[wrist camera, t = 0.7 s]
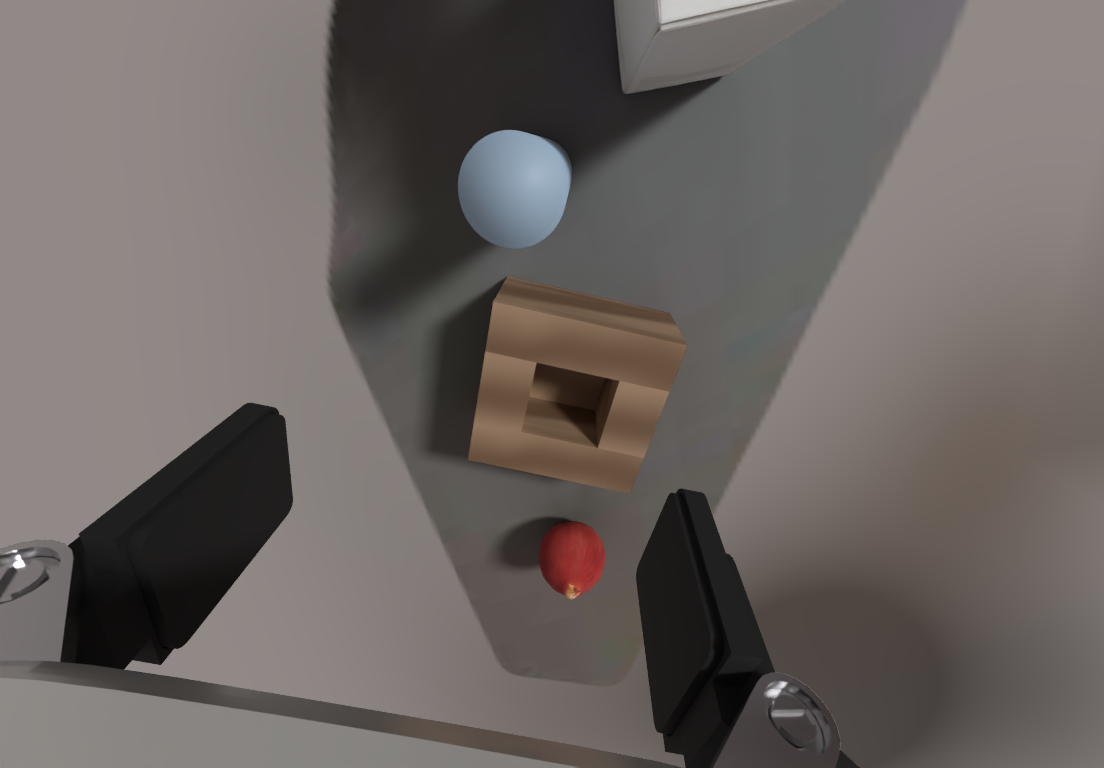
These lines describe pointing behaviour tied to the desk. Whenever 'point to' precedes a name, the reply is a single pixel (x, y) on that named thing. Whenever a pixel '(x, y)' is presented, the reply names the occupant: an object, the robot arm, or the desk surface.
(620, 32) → the skincare box
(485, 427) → the bore block
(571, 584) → the onion
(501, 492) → the desk surface
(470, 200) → the pin
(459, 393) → the desk surface
